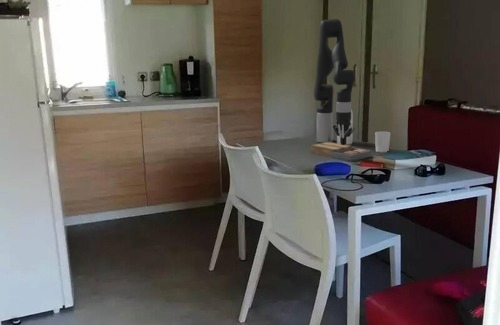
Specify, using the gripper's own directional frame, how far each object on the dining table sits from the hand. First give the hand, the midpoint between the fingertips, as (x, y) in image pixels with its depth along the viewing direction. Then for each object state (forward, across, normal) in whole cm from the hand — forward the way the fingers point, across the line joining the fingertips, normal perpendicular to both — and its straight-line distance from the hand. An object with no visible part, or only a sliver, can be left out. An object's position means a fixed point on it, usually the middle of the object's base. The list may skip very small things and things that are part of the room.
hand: (343, 144), depth 261 cm
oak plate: (+6, +11, -3) cm, 13 cm away
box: (+6, -3, -3) cm, 8 cm away
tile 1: (+3, -5, 0) cm, 6 cm away
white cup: (+7, -5, -25) cm, 26 cm away
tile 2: (+3, -5, -7) cm, 9 cm away
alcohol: (+7, +23, -27) cm, 36 cm away
